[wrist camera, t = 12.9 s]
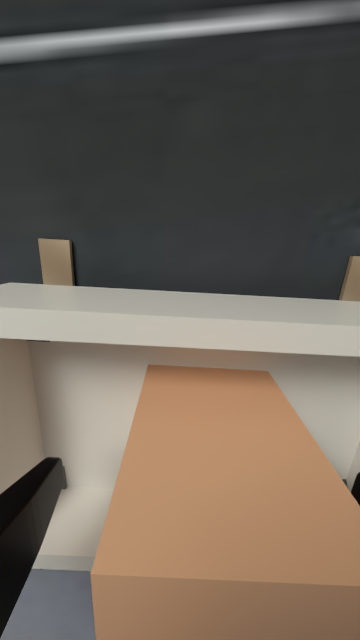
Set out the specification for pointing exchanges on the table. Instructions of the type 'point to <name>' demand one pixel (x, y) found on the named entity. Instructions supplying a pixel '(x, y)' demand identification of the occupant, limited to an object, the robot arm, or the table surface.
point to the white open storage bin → (128, 376)
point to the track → (61, 270)
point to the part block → (225, 519)
